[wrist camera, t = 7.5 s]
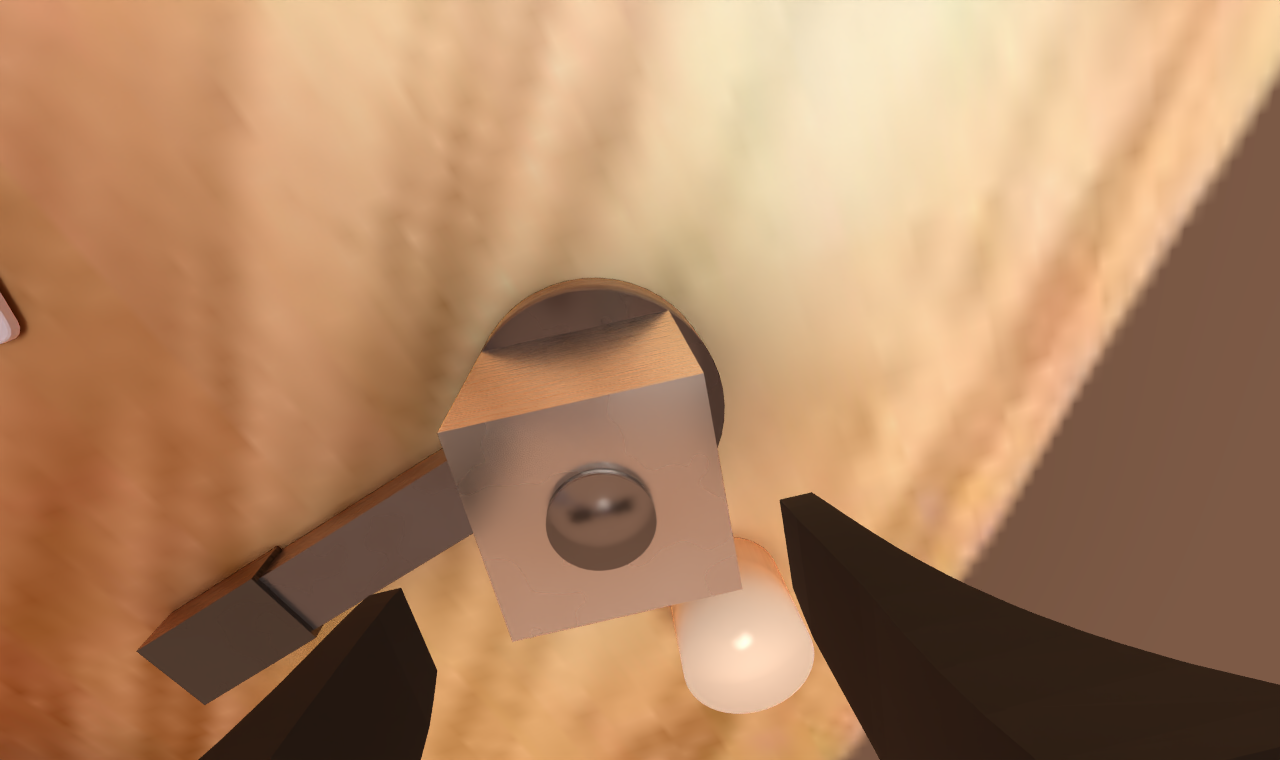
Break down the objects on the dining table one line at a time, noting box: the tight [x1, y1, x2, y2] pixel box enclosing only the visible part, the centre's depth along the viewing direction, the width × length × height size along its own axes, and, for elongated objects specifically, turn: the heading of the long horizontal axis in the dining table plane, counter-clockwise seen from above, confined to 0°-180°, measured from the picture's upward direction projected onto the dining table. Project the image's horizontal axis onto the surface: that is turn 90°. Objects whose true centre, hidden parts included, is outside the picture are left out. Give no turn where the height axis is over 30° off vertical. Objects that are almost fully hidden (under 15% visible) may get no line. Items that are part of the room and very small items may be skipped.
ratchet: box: [137, 278, 725, 705], centre depth 19 cm, size 21×11×4 cm, turn 102°
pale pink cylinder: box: [671, 537, 814, 714], centre depth 22 cm, size 4×4×4 cm
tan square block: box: [437, 310, 742, 642], centre depth 16 cm, size 6×6×6 cm
